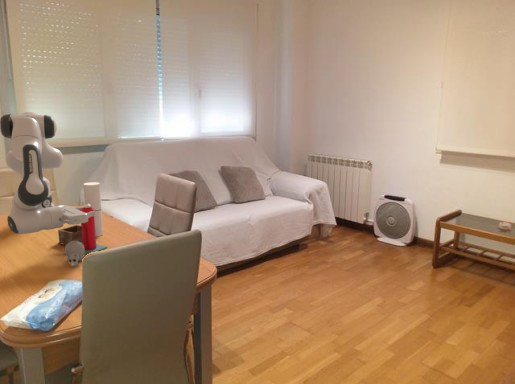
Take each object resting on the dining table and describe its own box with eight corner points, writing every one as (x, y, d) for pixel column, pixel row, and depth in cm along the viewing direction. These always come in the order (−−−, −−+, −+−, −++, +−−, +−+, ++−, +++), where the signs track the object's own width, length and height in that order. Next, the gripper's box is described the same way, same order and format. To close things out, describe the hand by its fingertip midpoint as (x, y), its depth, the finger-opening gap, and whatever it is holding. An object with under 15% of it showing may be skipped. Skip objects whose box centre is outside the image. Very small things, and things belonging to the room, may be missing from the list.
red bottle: (98, 245, 178) (95, 201, 174) (94, 250, 172) (91, 204, 168) (85, 246, 177) (82, 201, 173) (81, 250, 172) (77, 204, 168)
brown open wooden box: (59, 242, 182) (58, 230, 181) (78, 236, 191) (77, 224, 190) (74, 246, 178) (73, 233, 177) (92, 240, 187) (92, 227, 185)
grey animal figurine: (63, 274, 156) (59, 258, 151) (68, 253, 165) (64, 237, 160) (83, 272, 157) (80, 256, 152) (87, 251, 167) (84, 236, 162)
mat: (72, 250, 173) (72, 249, 173) (91, 244, 182) (91, 242, 182) (88, 255, 169) (88, 253, 168) (107, 248, 177) (107, 246, 177)
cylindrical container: (97, 237, 191) (94, 185, 186) (83, 236, 192) (80, 184, 187) (105, 232, 198) (102, 182, 192) (92, 231, 199) (89, 181, 194)
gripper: (65, 214, 155) (99, 208, 164) (45, 205, 168) (78, 200, 178) (66, 230, 156) (100, 223, 166) (46, 219, 170) (79, 213, 179)
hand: (89, 211), depth 172 cm, fingers open, 8 cm apart
